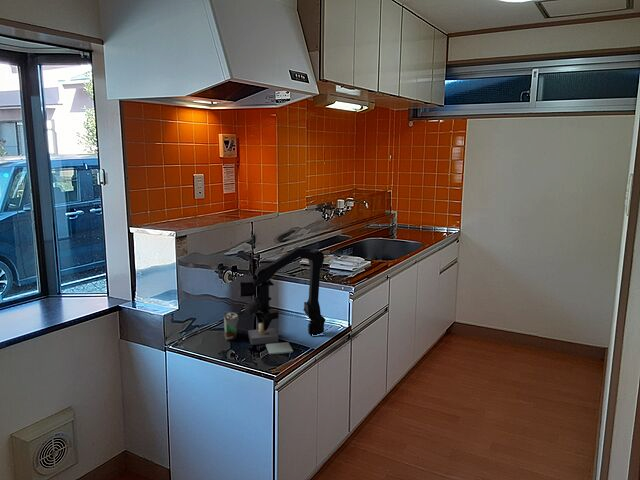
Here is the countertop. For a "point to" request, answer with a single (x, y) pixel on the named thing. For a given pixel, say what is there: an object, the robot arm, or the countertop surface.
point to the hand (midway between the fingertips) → (263, 329)
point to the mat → (279, 348)
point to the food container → (230, 325)
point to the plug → (262, 329)
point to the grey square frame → (263, 337)
